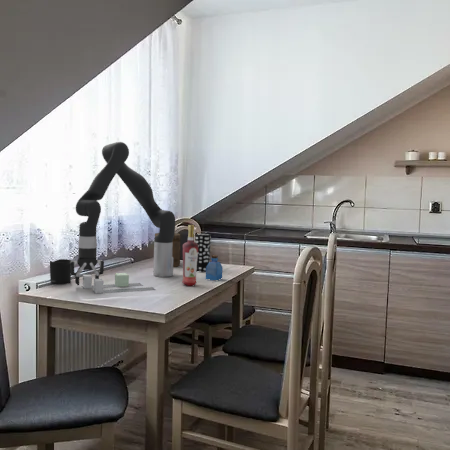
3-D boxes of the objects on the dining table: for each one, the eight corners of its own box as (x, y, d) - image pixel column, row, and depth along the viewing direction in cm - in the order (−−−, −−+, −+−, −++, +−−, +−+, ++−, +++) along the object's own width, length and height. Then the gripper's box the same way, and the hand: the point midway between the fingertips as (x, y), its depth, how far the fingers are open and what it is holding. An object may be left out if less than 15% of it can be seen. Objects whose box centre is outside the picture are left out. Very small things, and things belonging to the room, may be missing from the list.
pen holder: (49, 281, 222) (49, 259, 221) (70, 280, 226) (70, 259, 225) (50, 285, 214) (50, 262, 213) (72, 284, 217) (72, 262, 216)
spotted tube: (207, 272, 258) (208, 235, 257) (192, 271, 260) (193, 234, 258) (211, 270, 267) (212, 234, 265) (196, 269, 268) (197, 233, 267)
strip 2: (152, 288, 213) (152, 275, 213) (156, 291, 208) (156, 278, 208) (92, 292, 202) (92, 278, 202) (94, 295, 197) (95, 281, 196)
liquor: (185, 287, 220) (187, 226, 218) (178, 283, 227) (180, 224, 224) (199, 286, 224) (201, 226, 221) (193, 283, 230) (195, 224, 228)
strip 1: (139, 284, 221) (139, 272, 221) (143, 287, 216) (143, 274, 215) (81, 287, 210) (81, 274, 210) (83, 290, 205) (83, 277, 204)
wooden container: (152, 263, 282) (153, 225, 280) (177, 263, 286) (178, 226, 284) (156, 267, 267) (157, 228, 266) (182, 267, 272) (183, 228, 270)
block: (125, 283, 218) (126, 273, 217) (128, 286, 213) (128, 275, 213) (114, 284, 216) (115, 273, 215) (117, 286, 211) (117, 275, 211)
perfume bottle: (222, 279, 243) (223, 255, 242) (216, 281, 237) (217, 256, 236) (211, 277, 245) (211, 254, 244) (205, 279, 240) (206, 255, 239)
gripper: (102, 245, 213) (102, 282, 214) (69, 245, 207) (68, 283, 208) (106, 247, 206) (105, 285, 208) (71, 248, 200) (70, 287, 202)
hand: (87, 284), depth 208 cm, fingers open, 7 cm apart
